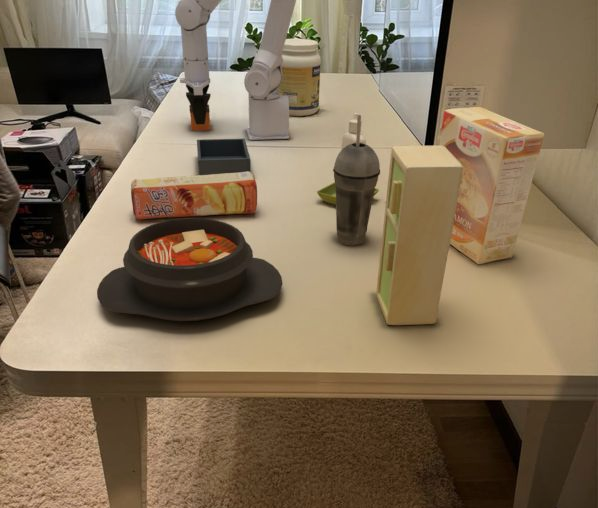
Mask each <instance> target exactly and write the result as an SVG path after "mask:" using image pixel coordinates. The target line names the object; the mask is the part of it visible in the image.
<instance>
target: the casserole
mask: <svg viewBox="0 0 598 508" xmlns="http://www.w3.org/2000/svg"><path fill="white" fill-rule="evenodd" d="M122 262H123V266H121V267H117V268H115V269H113V270H111V271H110V272H109V273H108V274H106V275H105V276H104V277H103V278H102V279H101V281H100V282H99V283H98V287H97V289H96V296H97V300H98V302H99V304H100V305H101V306H102V307H103V308H104V309H105V310H107V311H109V312H112V313H119V314H129V315H130V314H131V315H140V316H146V317H149V318H155V319H159V320H166V321H175V322H176V321H177V322H192V321H195V322H196V321H202V320H210V319H213V318H218V317H222V316H224V315H227V314H231V313H233V312H234V311H237V310H239V309H240V310H241V309H242V308H245V307H247V306H252V305H257V304H260V303H261V304H262V303H263V302H267V301H270V300H271V299H273V298H275V297H277V296H278V295H279V293H280V292H281V290H282V287H283V277H282V275H281V273H280V272H279V269H277V268H276V267H275V266H274V265H273V264H271V263H270V262H268V261H267V260H266V259H264V258H263V259H262V258H259V257H254V252H253V249H252V247H251V245H250V244H249V243H248V242H247V241H246V238H245V236H244V235H243V233H242V231H240V230H239V229H238V228H237V227H235V226H234V225H232V224H230V223H227V222H226V221H225V222H224V221H221V220H217V219H212V218H203V217H202V218H201V217H180V218H174V219H168V220H162V221H160V222H156V223H153V224H151V225H148V226H146V227H144V228H142V229H140V230H139V231H138V232H136V233H134V234H133V236H132V237H131V238H130V240H129V244H128V248H127V250H126V251H125V253H124V255H123V259H122Z"/></svg>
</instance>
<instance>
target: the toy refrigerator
mask: <svg viewBox="0 0 598 508" xmlns="http://www.w3.org/2000/svg"><path fill="white" fill-rule="evenodd" d="M388 168H389V169H388V179H387V187H386V196H385V198H386V199H385V206H384V207H385V209H384V217H383V225H382V227H383V228H382V235H381V243H380V254H379V262H378V274H377V283H376V291H375V292H376V293H375V296H376V299H377V301H378V304H379V307H380V310H381V312H382V315H383V317H384V320H385V323H386V325H388V326H410V325H411V326H412V325H433V324H436V322H437V317H438V312H439V306H440V301H441V295H442V294H441V293H442V289H443V285H444V284H443V283H444V278H445V273H446V267H447V262H448V255H449V250H450V246H451V244H450V239H451V234H452V228H453V223H454V217H455V212H456V206H457V200H458V195H459V189H460V183H461V178H462V172H463V167H462V165H461V163H460V162H459V161H458V160H457V159H456V158H455V157H454V156H453V155H452V154H451V153H450V152H449V151H448V150H447V148H446V147H444V146H439V145H394V146H392V147H391V150H390V159H389V167H388Z"/></svg>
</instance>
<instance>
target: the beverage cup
mask: <svg viewBox="0 0 598 508" xmlns="http://www.w3.org/2000/svg"><path fill="white" fill-rule="evenodd" d="M360 126H361V127H362V115H361V114H358V118H357V137H356V143H352V144H349V145H347V146H346V147H345V148H343V149H342V148H341V149H340V151H339V153H338V154H337V156H336V159H335V161H334V165H333V169H332V171H333V180H334V182H335V184H336V205H335V215H336V218H335V219H336V223H335V224H336V237H337V238H336V239H337V241H338V242H339V243H340V244H343V245H346V246H359V245H362V244H363V243H365V239H366V234H367V231H368V226H369V220H370V216H371V210H372V205H373V201H374V197H373V195H374V189H375V188H376V187H377V184H378V181H379V176H380V174H381V168H380V165H381V164H380V159H379V157H378V155H377V153H376V152H375V150H374V149H373V148H372V147H371V146H370V145H368V144H367V143H366V144H363V143H360V133H361V132H360Z"/></svg>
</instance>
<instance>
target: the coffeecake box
mask: <svg viewBox="0 0 598 508" xmlns="http://www.w3.org/2000/svg"><path fill="white" fill-rule="evenodd" d="M544 137H545V133H544V132H542V131H539V130H536V129H534V128H532V127H529V126H527V125H525V124H522V123H520V122H517V121H515V120H512V119H510V118H508V117H505V116H503V115H501V114H498V113H496V112H494V111H490V110H488V109H486V108H484V107H481V106H473V107H453V108H448V109H444V111H443V117H442V123H441V130H440V136H439V143H438V146H444V147H446V148H447V150H448V151H449V152H450V153H451V154H452V155H453V156H454V157H455V158H456V159H457V160H458V161H459V162H460V163H461V165H462V167H463V172H462V178H461V183H460V189H459V195H458V200H457V206H456V212H455V217H454V223H453V228H452V234H451V239H450V246H452V247H453V248H455V249H456V250H458V251H459V252H460V253H462V254H463V255H464V256H466V257H467V258H469V259H470V260H472V261H473V262H474V263H476V264H477V265H483V264H487V263H488V264H489V263H491V262H495V261H501V260H505V259H512V258H513V256H514V252H515V248H516V244H517V241H518V236H519V233H520V230H521V225H522V222H523V217H524V213H525V209H526V207H527V202H528V198H529V195H530V191H531V187H532V183H533V179H534V176H535V171H536V168H537V164H538V160H539V157H540V154H541V153H540V152H541V148H542V145H543V140H544Z"/></svg>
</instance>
